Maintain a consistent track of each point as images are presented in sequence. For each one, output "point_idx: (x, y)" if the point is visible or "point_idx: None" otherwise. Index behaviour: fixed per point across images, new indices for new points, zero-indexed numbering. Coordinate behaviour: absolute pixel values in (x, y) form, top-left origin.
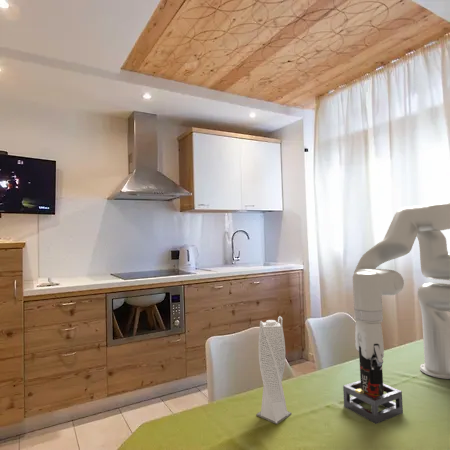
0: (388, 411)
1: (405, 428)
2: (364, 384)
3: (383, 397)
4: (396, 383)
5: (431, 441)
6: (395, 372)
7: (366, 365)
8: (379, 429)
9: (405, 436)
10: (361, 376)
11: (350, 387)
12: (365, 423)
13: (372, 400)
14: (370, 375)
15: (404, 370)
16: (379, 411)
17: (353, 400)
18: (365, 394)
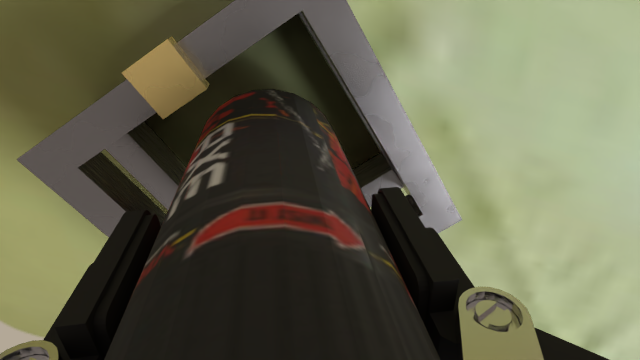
0: (164, 206)
1: (92, 231)
2: (208, 151)
3: (106, 233)
4: (533, 303)
5: (5, 293)
6: (633, 323)
7: (122, 327)
8: (35, 107)
9: (7, 211)
10: (243, 162)
11: (268, 12)
12: (84, 43)
13: (37, 144)
14: (94, 267)
15: (636, 354)
16: (151, 159)
17: (311, 34)
18: (132, 116)
